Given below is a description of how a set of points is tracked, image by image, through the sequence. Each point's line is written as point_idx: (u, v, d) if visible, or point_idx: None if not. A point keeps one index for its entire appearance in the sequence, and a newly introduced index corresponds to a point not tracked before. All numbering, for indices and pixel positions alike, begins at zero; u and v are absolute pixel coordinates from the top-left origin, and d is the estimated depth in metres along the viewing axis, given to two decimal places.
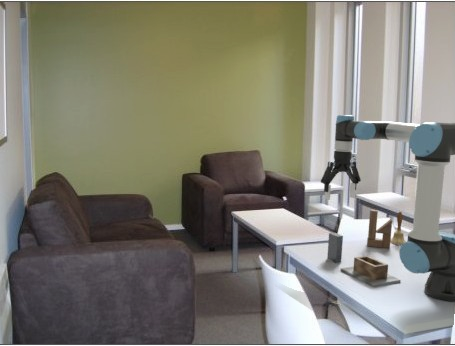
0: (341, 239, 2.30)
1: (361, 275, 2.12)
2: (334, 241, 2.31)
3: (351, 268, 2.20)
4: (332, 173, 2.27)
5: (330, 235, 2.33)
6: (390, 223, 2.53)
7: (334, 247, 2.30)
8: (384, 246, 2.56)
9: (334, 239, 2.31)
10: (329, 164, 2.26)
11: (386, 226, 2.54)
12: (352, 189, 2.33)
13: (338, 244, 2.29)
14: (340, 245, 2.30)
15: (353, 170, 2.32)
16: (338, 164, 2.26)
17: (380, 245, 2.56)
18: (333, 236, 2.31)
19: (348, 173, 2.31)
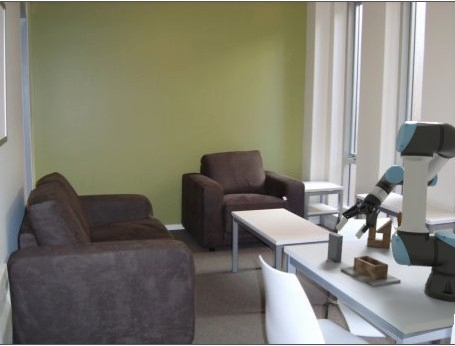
0: (341, 239, 2.30)
1: (361, 275, 2.12)
2: (334, 241, 2.31)
3: (351, 268, 2.20)
4: None
5: (330, 235, 2.33)
6: (390, 223, 2.53)
7: (334, 247, 2.30)
8: (384, 246, 2.56)
9: (334, 239, 2.31)
10: None
11: (386, 226, 2.54)
12: None
13: (338, 244, 2.29)
14: (340, 245, 2.30)
15: None
16: (362, 205, 2.41)
17: (380, 245, 2.56)
18: (333, 236, 2.31)
19: None
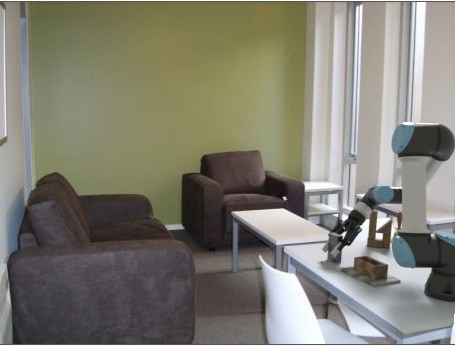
0: (341, 239, 2.30)
1: (361, 275, 2.12)
2: (334, 241, 2.31)
3: (351, 268, 2.20)
4: None
5: (330, 235, 2.33)
6: (390, 223, 2.53)
7: (334, 247, 2.30)
8: (384, 246, 2.56)
9: (334, 239, 2.31)
10: None
11: (386, 226, 2.54)
12: None
13: None
14: None
15: None
16: (346, 220, 2.37)
17: (380, 245, 2.56)
18: (333, 236, 2.31)
19: None
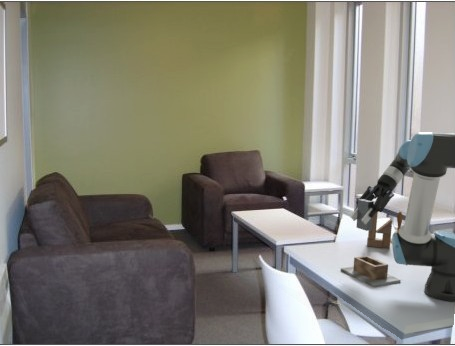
0: (372, 205, 2.15)
1: (361, 275, 2.12)
2: (364, 207, 2.15)
3: (351, 268, 2.20)
4: None
5: (359, 201, 2.18)
6: (390, 223, 2.53)
7: (365, 214, 2.15)
8: (384, 246, 2.56)
9: (364, 205, 2.15)
10: None
11: (386, 226, 2.54)
12: None
13: None
14: None
15: None
16: (375, 186, 2.22)
17: (380, 245, 2.56)
18: (363, 202, 2.16)
19: None
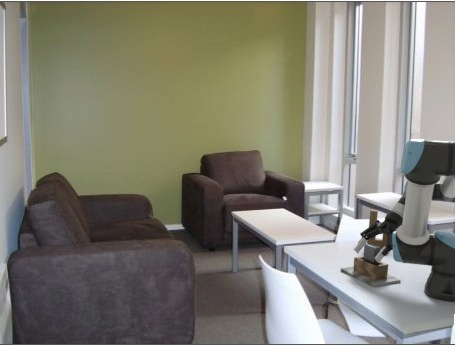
0: (378, 251, 2.11)
1: (361, 275, 2.12)
2: (370, 253, 2.12)
3: (351, 268, 2.20)
4: None
5: (366, 246, 2.14)
6: None
7: (371, 260, 2.11)
8: None
9: (370, 250, 2.11)
10: None
11: None
12: None
13: (375, 256, 2.10)
14: None
15: None
16: (383, 223, 2.18)
17: (380, 245, 2.56)
18: (369, 247, 2.12)
19: None
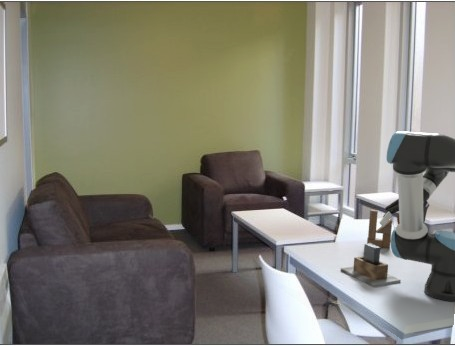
0: (378, 251, 2.11)
1: (361, 275, 2.12)
2: (370, 253, 2.12)
3: (351, 268, 2.20)
4: None
5: (366, 246, 2.14)
6: (390, 223, 2.53)
7: (371, 260, 2.11)
8: (384, 246, 2.56)
9: (370, 250, 2.11)
10: None
11: (386, 226, 2.54)
12: None
13: (375, 256, 2.10)
14: (377, 257, 2.11)
15: None
16: None
17: (380, 245, 2.56)
18: (369, 247, 2.12)
19: None
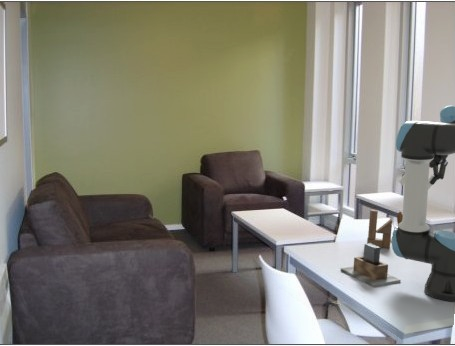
0: (378, 251, 2.11)
1: (361, 275, 2.12)
2: (370, 253, 2.12)
3: (351, 268, 2.20)
4: None
5: (366, 246, 2.14)
6: (390, 223, 2.53)
7: (371, 260, 2.11)
8: (384, 246, 2.56)
9: (370, 250, 2.11)
10: None
11: (386, 226, 2.54)
12: None
13: (375, 256, 2.10)
14: (377, 257, 2.11)
15: None
16: None
17: (380, 245, 2.56)
18: (369, 247, 2.12)
19: None
